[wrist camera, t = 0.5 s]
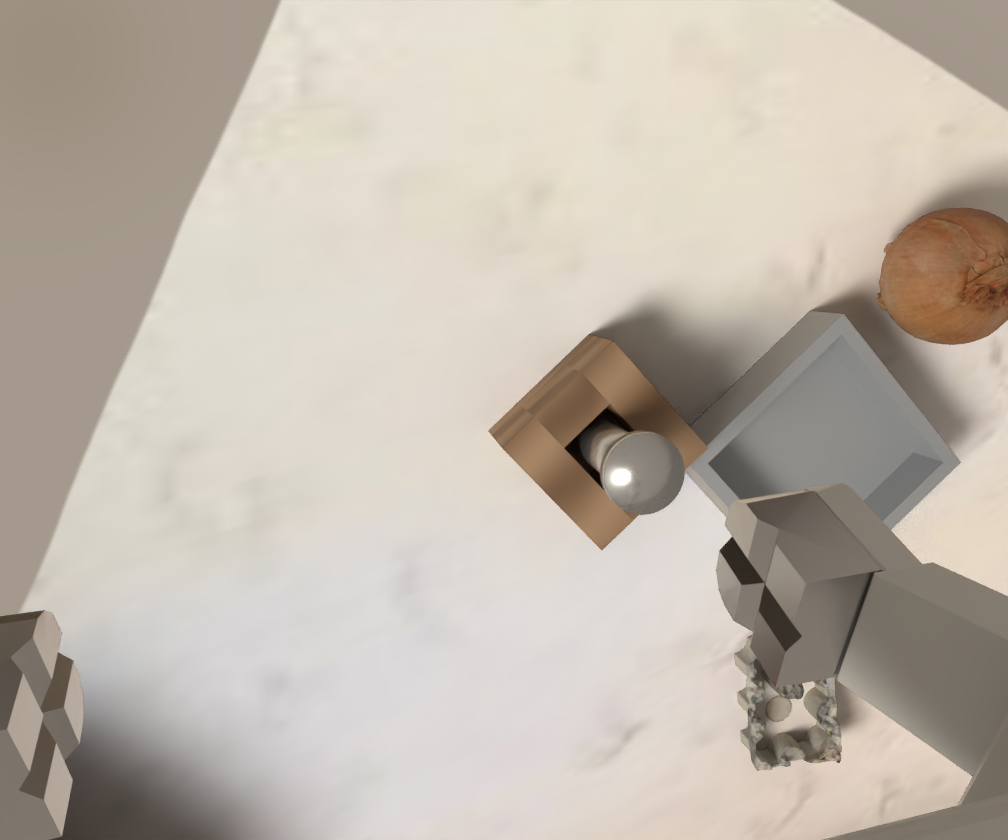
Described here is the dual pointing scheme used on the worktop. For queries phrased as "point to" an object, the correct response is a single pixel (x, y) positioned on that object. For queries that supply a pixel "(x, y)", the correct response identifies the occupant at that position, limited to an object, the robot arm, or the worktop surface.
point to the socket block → (568, 410)
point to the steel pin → (632, 465)
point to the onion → (948, 276)
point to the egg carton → (782, 747)
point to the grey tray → (820, 426)
